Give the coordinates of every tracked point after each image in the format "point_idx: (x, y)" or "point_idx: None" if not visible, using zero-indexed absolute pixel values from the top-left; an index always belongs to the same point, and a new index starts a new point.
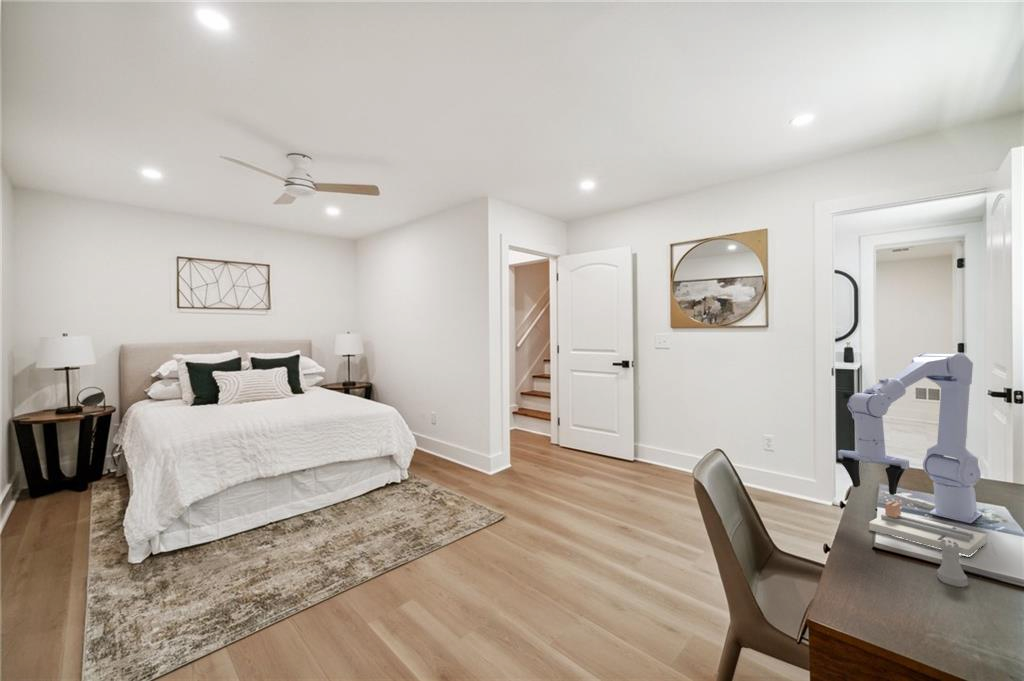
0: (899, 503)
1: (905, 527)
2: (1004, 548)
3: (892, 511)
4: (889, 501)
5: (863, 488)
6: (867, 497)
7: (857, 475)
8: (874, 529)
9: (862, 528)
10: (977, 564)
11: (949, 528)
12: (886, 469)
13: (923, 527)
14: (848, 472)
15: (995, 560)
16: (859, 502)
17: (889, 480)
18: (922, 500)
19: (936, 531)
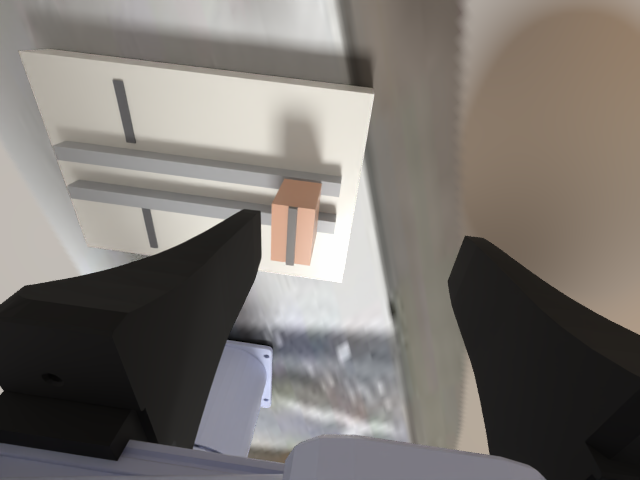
0: (271, 255)
1: (247, 139)
2: (67, 220)
3: (289, 190)
4: (309, 255)
5: (445, 431)
6: (427, 383)
7: (480, 331)
8: (353, 87)
9: (401, 85)
10: (7, 4)
11: (132, 201)
12: (108, 321)
13: (192, 161)
14: (580, 306)
15: (16, 100)
16: (444, 340)
17: (199, 256)
18: (312, 415)
19: (153, 156)
